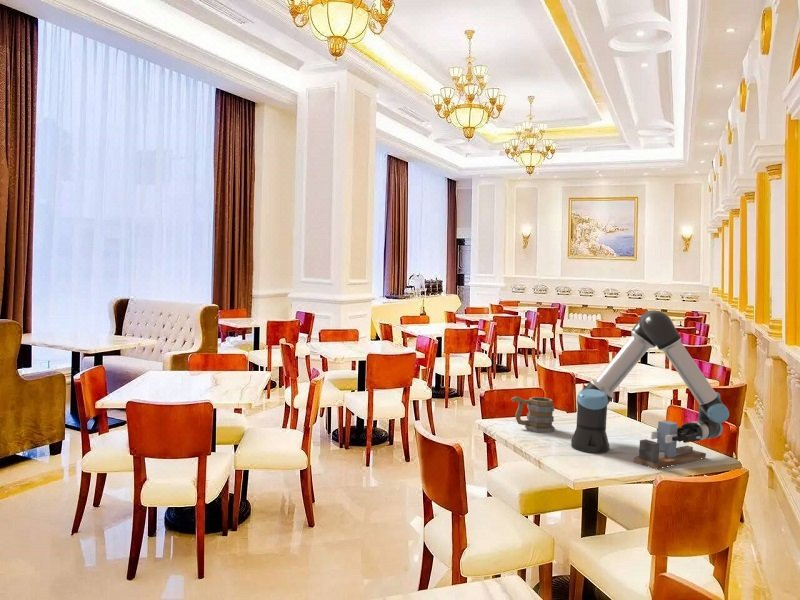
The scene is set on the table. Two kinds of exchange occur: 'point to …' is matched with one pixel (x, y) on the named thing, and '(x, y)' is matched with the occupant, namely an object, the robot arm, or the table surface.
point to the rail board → (678, 460)
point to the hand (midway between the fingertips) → (659, 437)
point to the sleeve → (664, 430)
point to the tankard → (536, 414)
